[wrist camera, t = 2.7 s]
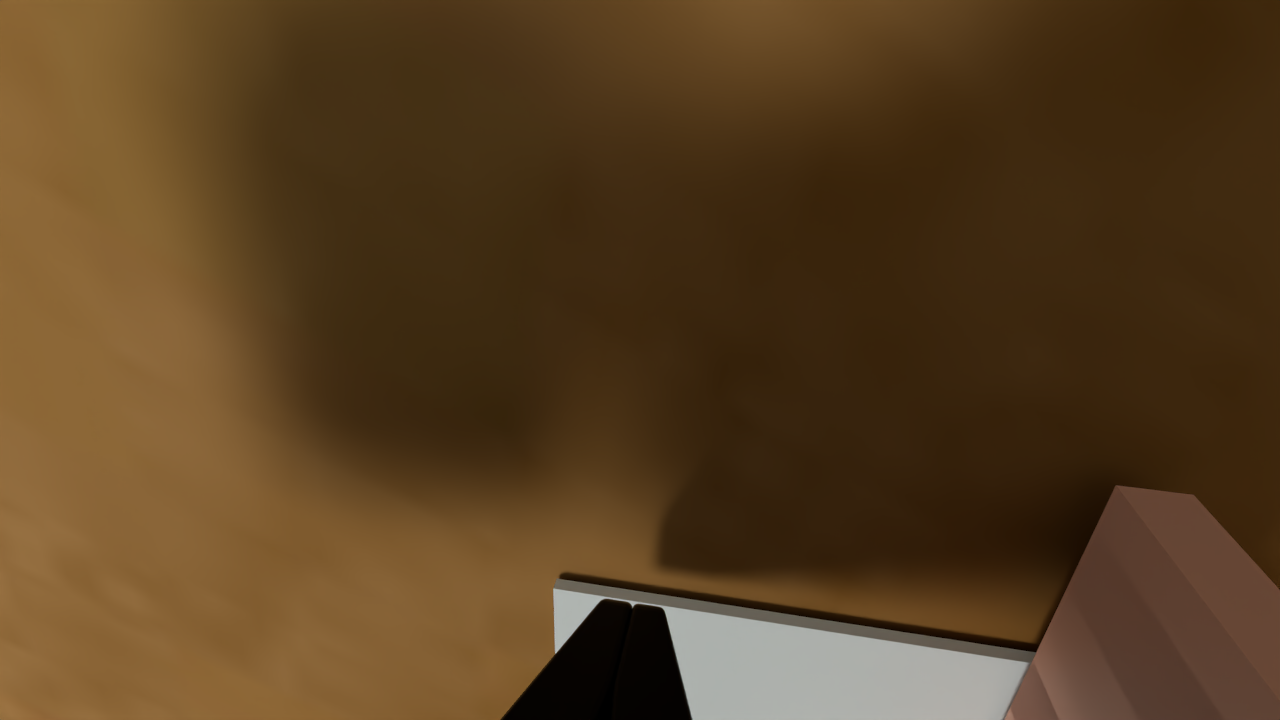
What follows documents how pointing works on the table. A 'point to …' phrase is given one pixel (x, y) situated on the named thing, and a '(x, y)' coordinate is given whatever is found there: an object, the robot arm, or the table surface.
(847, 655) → the card
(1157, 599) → the fence leaf
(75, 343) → the table surface
